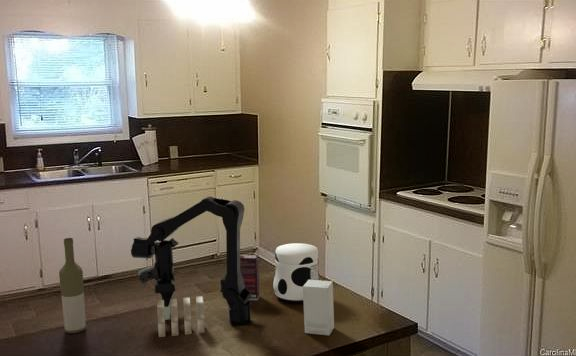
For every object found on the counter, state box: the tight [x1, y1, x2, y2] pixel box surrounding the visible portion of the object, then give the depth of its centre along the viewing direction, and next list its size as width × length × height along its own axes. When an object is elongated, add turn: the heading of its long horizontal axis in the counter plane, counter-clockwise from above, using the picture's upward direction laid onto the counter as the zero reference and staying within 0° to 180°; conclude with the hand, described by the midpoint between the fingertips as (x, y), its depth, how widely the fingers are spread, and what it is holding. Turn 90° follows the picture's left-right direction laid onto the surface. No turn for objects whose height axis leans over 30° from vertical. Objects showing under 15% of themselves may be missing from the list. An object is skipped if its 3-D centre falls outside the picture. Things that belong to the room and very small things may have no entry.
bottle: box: [58, 237, 87, 334], centre depth 175 cm, size 7×7×30 cm
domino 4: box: [182, 297, 192, 335], centre depth 175 cm, size 2×5×10 cm, turn 12°
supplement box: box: [240, 254, 260, 301], centre depth 202 cm, size 9×5×16 cm, turn 84°
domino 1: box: [156, 299, 166, 338], centre depth 174 cm, size 2×5×10 cm, turn 12°
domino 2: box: [164, 303, 171, 321], centre depth 186 cm, size 2×5×10 cm, turn 12°
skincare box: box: [303, 279, 335, 336], centre depth 173 cm, size 8×7×16 cm
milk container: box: [272, 242, 321, 303], centre depth 202 cm, size 17×17×18 cm
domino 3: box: [169, 298, 180, 337], centre depth 174 cm, size 2×5×10 cm, turn 12°
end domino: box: [195, 295, 206, 334], centre depth 176 cm, size 2×5×10 cm, turn 12°
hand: (166, 303), depth 187 cm, fingers closed on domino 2, 5 cm apart
